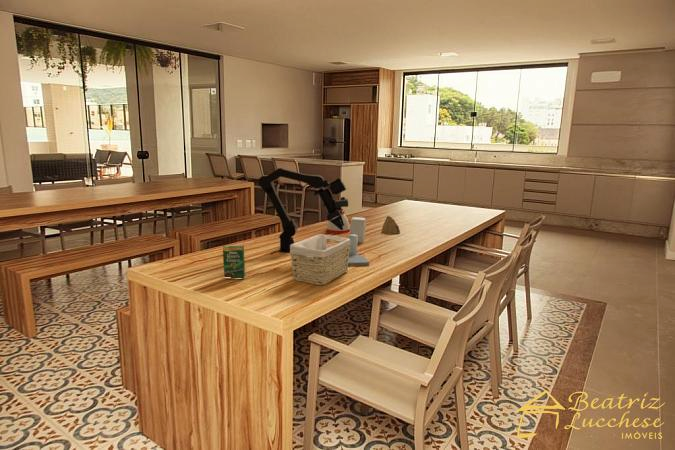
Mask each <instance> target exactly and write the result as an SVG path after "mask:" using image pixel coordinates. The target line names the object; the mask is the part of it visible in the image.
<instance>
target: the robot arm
mask: <svg viewBox="0 0 675 450" xmlns="http://www.w3.org/2000/svg"><path fill="white" fill-rule="evenodd" d="M279 178H285V179H289V180H293V181H296V182H302V183H304V184H307V185H308V186H310V187H312V188H314V193H313V196H314V197H315V196H317V195H318V196H319V198H320V201H321V202H322V205H323V207H324V208H325V210H326V213H327V215H326V218H327V221H328V222H329V221H330V222H331V223H333V224H334V225H335V226H337V227H338V228H339V229H340V230H343V227H342V226H344V223H343V220H342V216H341V213H342V212H343V211H342V209H343V208H344V207H345V208H347V207H349V199H348V198H346V197H345V196H341V197H340V199H336V198H335V197H334V196H333V195H336V196H337V195H340V194H341V193H342V192H345V191H346V190H347V187H346V186H345V183H344V182H343V180H342V179H341V178H340V177H337V178H336V179H334V180H333V181H328V180H326V179H325V178H324V177H323V176H322V175H320V174H306V173H302V172H298V171H294V170H289V169H286V168H284V167H278V168H277V169H276V170H274V171H273V172H271V173H269V174H264V175H261V176H260V177H259V178H258V186H259V187H260V188H261V189H262V191H263V192H264V193H266V195H267V196H268V198H269V200H270V203H271V205H272V206H273V208H274V210H275V212H276V213H277V215H278V217H279V220H280V221H281V227H282V232H281V233H280V235H278V236H279V252H280V253H290V245H291V244H294V243H295V241H294V236H295V235H296V233H297V232H298V224H297V223H296V220H295V218H291V217H290V216H289V214H288V213H287V210H286V208H285V206H284V205H283V203H282V200H281V199H280V196H279V194H278V192H277V191H276V186H275V185H276V184H275V182H274V181H276V180H277V179H279ZM339 210H341V211H339Z"/></svg>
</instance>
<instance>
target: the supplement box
mask: <svg viewBox="0 0 675 450" xmlns="http://www.w3.org/2000/svg"><path fill="white" fill-rule="evenodd" d="M366 219H367V218H366V217H355V216H353V217H352V218H351V219H350V232H349V233H350V234H356V235H358V244H359V243H360V244H363V243H364V241H365V238H366V236H365V235H366Z"/></svg>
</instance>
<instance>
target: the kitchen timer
mask: <svg viewBox="0 0 675 450" xmlns="http://www.w3.org/2000/svg"><path fill="white" fill-rule="evenodd" d="M339 211H341V210H339ZM341 216H342V220H343V223H344V226H342V227H343V230H340V229H339V228H338V227H337V226H335V225H334V224H333V223H331V222H330V221H328V223H327V227H326V231H327V233H331V234H332V233H333V234H347V233H350V231H351V224H350V222H349V218H348V217H347V216H346V214H345V210H344V209H343V208H342V213H341Z"/></svg>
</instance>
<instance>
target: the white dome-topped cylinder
mask: <svg viewBox="0 0 675 450" xmlns="http://www.w3.org/2000/svg"><path fill="white" fill-rule="evenodd" d="M347 236H348V237H347V238H349V239H350V243H351V245H350V249H349V250H350V251H349V255H358V244H359V242H358V235H356V234H348V235H347Z"/></svg>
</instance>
